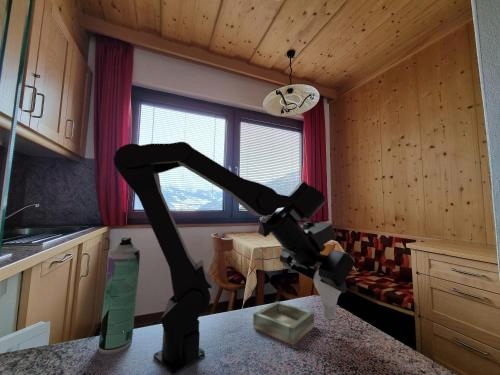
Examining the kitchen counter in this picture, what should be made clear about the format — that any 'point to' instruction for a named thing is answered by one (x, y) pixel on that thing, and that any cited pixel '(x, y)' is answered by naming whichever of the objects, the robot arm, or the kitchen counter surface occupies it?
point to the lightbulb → (327, 297)
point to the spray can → (119, 298)
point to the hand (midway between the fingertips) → (333, 286)
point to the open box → (284, 321)
